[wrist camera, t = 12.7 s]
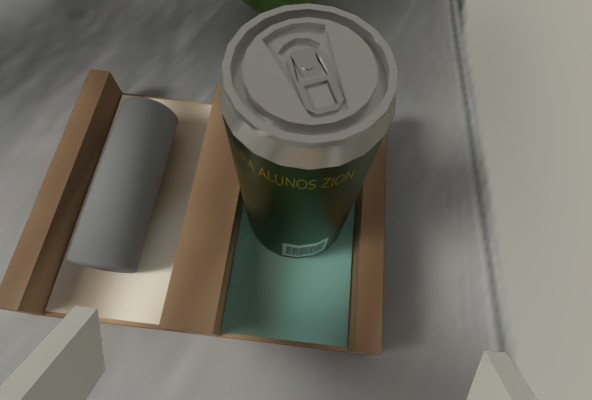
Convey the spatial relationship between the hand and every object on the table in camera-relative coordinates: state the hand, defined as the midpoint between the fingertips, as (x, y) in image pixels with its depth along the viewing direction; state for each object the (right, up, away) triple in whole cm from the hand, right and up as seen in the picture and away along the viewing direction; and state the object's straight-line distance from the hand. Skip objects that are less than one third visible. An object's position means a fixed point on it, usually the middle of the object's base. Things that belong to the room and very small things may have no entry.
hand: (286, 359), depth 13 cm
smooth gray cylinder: (-8, +6, +9) cm, 13 cm away
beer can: (0, +4, +9) cm, 10 cm away
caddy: (-4, +5, +10) cm, 12 cm away
